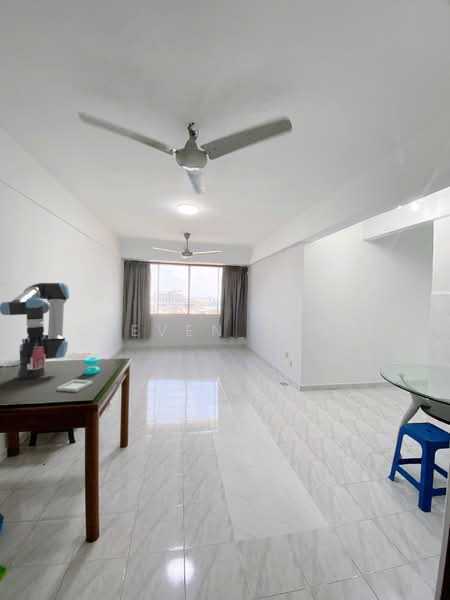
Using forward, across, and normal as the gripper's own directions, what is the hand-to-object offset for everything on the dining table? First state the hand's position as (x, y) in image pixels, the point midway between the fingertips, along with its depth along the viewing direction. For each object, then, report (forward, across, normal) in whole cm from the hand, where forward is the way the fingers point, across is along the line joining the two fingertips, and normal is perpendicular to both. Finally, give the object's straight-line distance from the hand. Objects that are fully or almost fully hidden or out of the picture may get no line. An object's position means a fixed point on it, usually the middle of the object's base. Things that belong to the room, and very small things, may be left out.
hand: (36, 367), depth 140 cm
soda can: (+1, 0, 0) cm, 1 cm away
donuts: (+15, +37, -5) cm, 40 cm away
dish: (+15, +12, -14) cm, 24 cm away
